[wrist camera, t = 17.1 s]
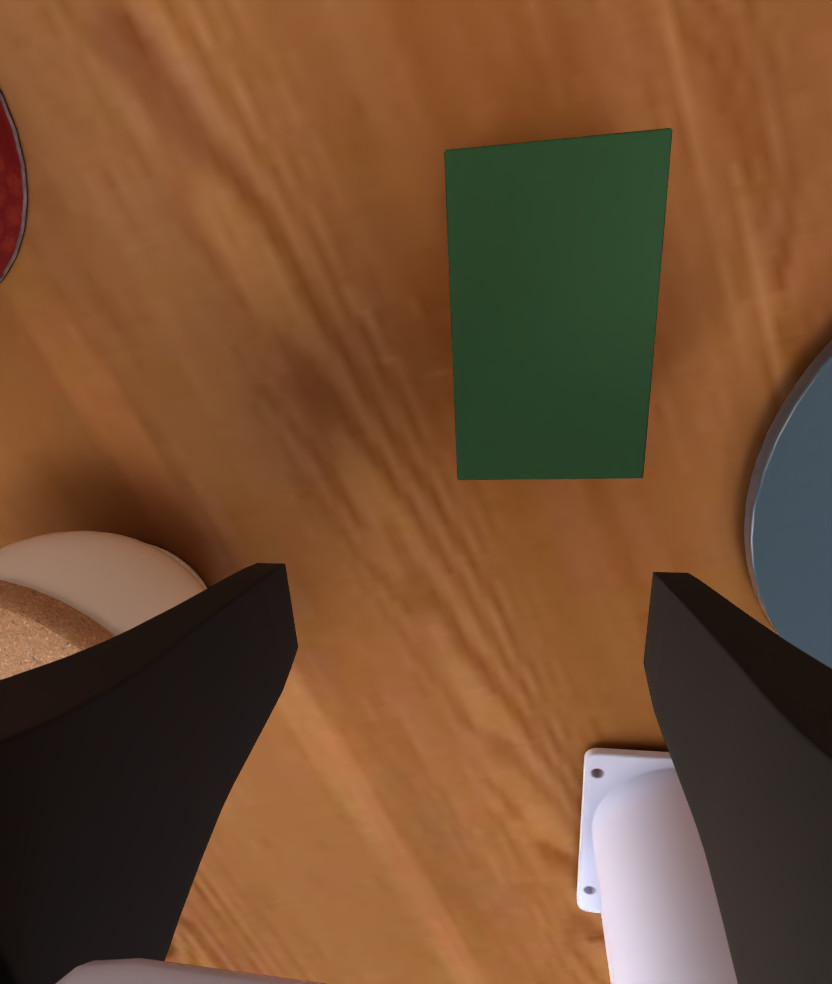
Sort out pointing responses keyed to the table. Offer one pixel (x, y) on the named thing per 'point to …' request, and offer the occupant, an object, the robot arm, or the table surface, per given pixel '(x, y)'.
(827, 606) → the plate
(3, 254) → the canned food
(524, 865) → the table surface
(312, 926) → the table surface
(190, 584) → the trinket box
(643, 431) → the sponge
